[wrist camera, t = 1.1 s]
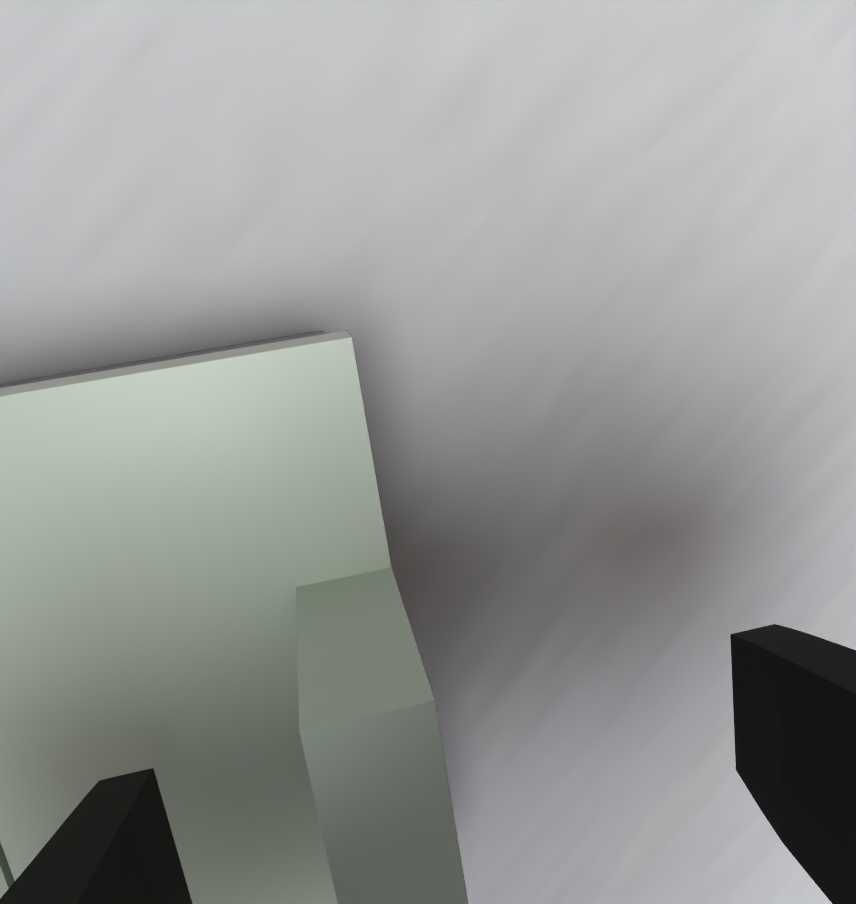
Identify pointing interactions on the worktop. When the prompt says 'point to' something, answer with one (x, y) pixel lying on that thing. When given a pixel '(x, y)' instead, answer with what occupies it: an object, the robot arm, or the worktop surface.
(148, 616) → the lid
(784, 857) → the worktop surface
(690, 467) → the worktop surface
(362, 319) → the worktop surface
